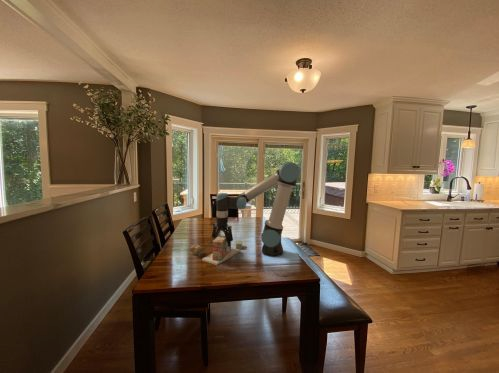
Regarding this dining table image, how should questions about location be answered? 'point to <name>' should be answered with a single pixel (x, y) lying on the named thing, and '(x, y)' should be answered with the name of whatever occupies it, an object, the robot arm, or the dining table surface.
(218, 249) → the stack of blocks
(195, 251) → the oak cube
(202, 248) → the walnut cylinder
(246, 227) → the dining table surface
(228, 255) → the board
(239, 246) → the sage block
